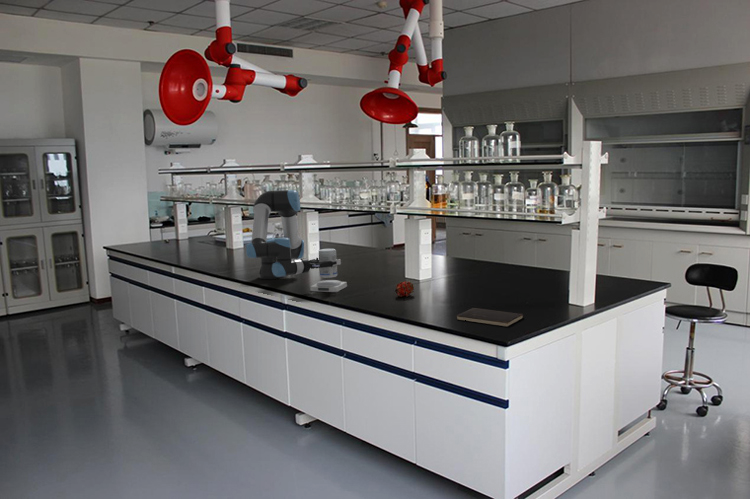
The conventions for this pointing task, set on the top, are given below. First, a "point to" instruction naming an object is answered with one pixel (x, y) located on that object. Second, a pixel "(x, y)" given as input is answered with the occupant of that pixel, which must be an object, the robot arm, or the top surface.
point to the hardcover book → (490, 316)
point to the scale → (329, 286)
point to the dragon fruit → (404, 289)
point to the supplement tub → (327, 256)
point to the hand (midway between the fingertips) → (334, 260)
